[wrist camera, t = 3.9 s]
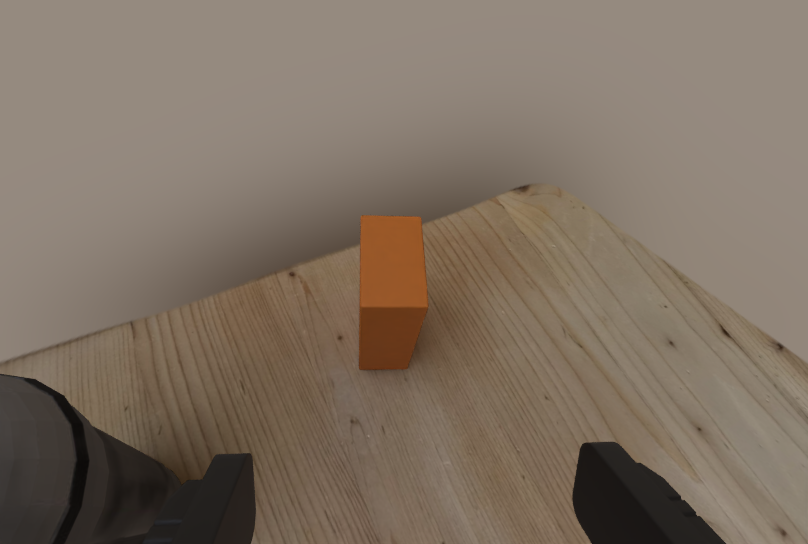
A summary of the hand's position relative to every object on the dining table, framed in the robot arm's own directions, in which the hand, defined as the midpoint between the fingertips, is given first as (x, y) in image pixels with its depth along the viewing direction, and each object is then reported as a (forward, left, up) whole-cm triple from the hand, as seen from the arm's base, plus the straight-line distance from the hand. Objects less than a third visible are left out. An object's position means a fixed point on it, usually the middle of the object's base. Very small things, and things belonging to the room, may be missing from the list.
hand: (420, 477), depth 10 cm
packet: (-7, +6, -14) cm, 17 cm away
